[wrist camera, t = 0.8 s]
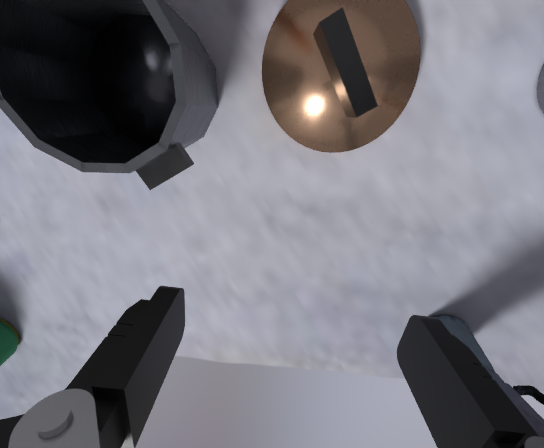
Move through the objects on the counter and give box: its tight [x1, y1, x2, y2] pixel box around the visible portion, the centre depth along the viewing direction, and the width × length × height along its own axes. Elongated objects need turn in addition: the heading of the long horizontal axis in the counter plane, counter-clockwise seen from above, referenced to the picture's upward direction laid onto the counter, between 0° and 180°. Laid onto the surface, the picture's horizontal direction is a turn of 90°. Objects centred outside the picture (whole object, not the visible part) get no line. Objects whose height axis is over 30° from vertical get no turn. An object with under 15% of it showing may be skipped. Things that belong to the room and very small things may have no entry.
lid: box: [262, 0, 420, 152], centre depth 24 cm, size 15×15×5 cm
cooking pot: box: [0, 0, 218, 190], centre depth 22 cm, size 13×17×11 cm
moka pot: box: [436, 316, 544, 438], centre depth 31 cm, size 10×15×20 cm, turn 105°
